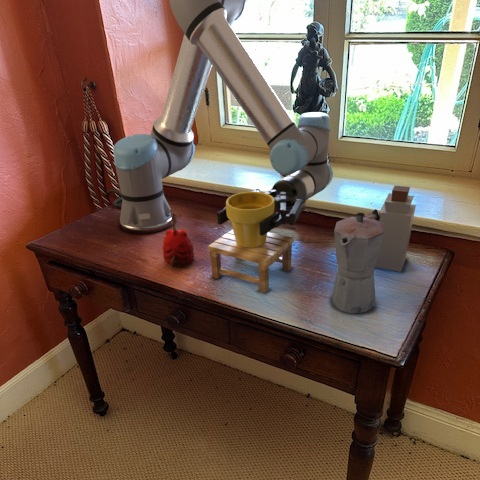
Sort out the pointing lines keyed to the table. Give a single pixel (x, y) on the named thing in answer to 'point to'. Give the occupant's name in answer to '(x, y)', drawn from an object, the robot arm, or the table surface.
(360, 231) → the moka pot
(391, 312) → the table surface
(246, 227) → the flower pot
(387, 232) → the perfume bottle
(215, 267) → the plant rack
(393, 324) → the table surface
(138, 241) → the table surface
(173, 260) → the red clay folk toy
